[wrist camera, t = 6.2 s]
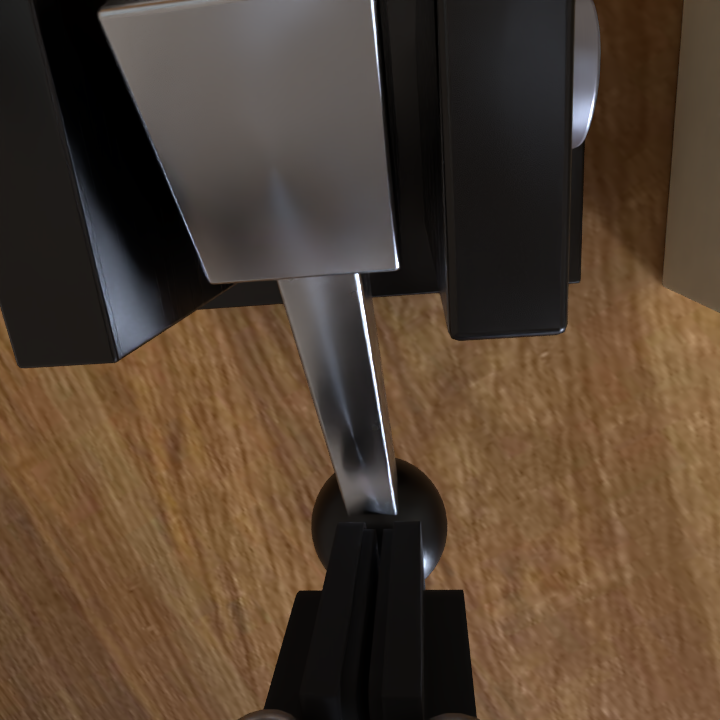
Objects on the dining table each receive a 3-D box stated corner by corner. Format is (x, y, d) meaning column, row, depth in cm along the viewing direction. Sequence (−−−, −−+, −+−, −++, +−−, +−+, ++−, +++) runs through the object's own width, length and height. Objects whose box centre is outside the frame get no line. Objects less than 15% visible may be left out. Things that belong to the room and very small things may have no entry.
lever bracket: (569, 275, 16) (920, 514, 5) (196, 301, 17) (-193, 540, 6) (577, -56, 14) (1314, -1061, 2) (142, 2, 15) (-670, -498, 4)
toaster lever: (443, 493, 16) (452, 616, 13) (328, 497, 16) (319, 616, 14) (428, -115, 6) (450, -19, 4) (134, -72, 6) (6, 39, 4)
